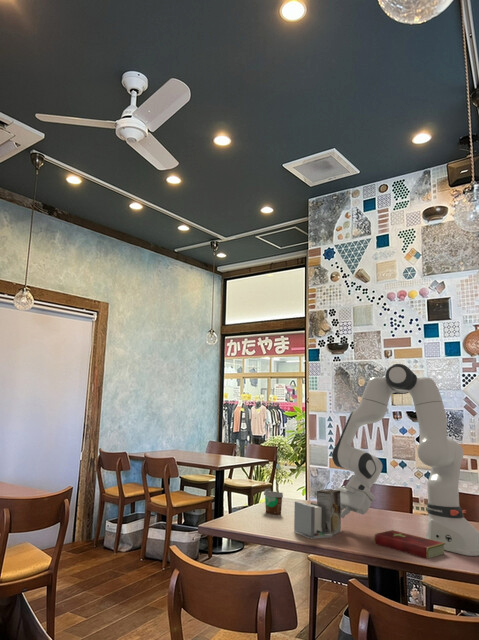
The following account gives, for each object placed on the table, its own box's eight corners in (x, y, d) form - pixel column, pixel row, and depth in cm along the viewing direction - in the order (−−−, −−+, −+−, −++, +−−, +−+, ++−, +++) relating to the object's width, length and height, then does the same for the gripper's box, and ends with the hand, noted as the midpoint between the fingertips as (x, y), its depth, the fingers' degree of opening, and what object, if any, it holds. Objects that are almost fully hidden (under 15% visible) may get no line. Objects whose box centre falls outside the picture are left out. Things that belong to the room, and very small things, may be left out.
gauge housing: (333, 536, 175) (333, 505, 178) (311, 539, 171) (311, 506, 173) (315, 530, 185) (315, 500, 187) (294, 532, 180) (294, 501, 183)
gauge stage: (326, 532, 175) (326, 506, 177) (316, 533, 173) (316, 507, 175) (312, 527, 183) (313, 502, 185) (302, 528, 181) (302, 503, 183)
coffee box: (326, 529, 187) (326, 488, 191) (341, 532, 184) (340, 490, 187) (316, 533, 180) (316, 490, 184) (331, 536, 177) (331, 492, 180)
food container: (258, 510, 219) (259, 488, 221) (269, 510, 222) (270, 488, 224) (271, 516, 208) (271, 493, 210) (282, 515, 211) (283, 492, 213)
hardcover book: (428, 560, 152) (427, 547, 153) (374, 545, 168) (374, 533, 169) (445, 555, 159) (445, 542, 160) (392, 540, 175) (392, 529, 176)
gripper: (336, 480, 201) (319, 505, 195) (369, 488, 183) (351, 516, 177) (345, 490, 202) (327, 515, 196) (378, 499, 184) (360, 527, 178)
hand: (339, 516), depth 186 cm, fingers closed
